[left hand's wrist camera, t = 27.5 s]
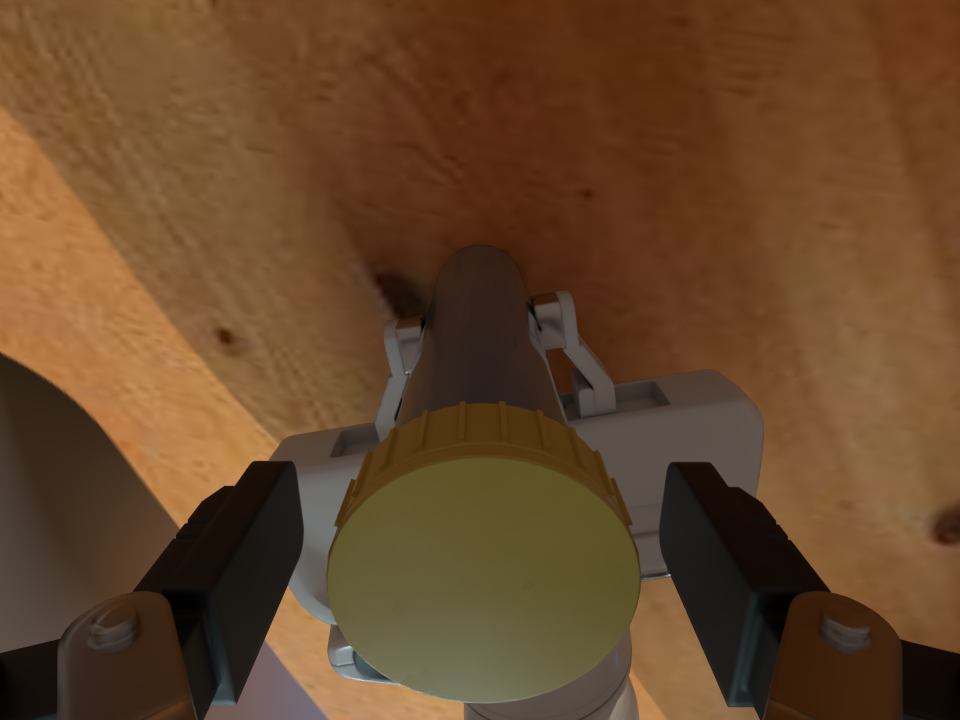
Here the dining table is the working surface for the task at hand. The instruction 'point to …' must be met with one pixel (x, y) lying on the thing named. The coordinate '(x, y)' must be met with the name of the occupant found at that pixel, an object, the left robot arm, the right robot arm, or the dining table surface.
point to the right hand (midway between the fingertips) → (475, 308)
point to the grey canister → (480, 342)
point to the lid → (483, 556)
